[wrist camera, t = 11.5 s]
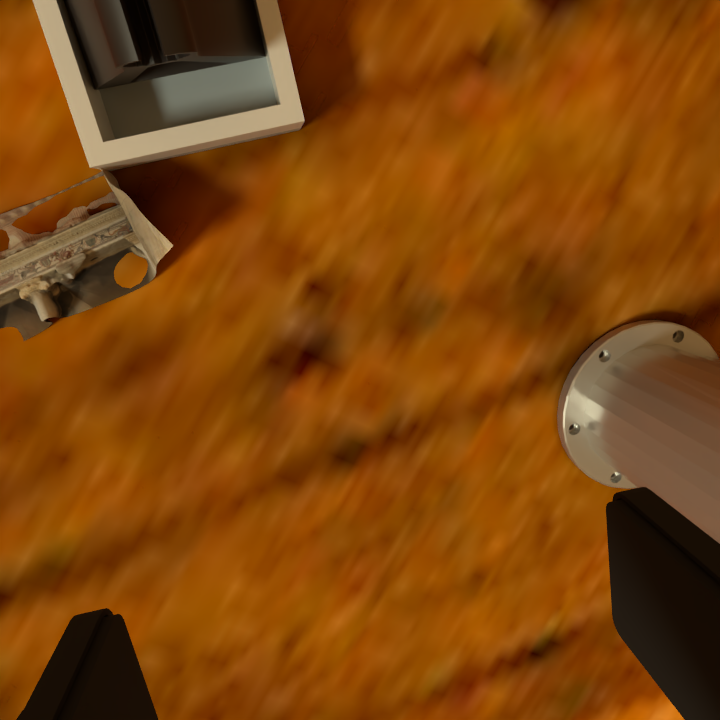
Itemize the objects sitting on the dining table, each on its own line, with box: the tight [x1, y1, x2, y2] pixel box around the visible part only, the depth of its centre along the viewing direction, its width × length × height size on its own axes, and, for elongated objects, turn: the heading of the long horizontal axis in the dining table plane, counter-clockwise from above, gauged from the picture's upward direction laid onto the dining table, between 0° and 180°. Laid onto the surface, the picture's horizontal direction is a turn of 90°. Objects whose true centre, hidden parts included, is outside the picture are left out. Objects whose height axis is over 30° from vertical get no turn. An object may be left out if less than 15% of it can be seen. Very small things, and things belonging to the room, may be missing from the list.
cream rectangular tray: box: [33, 0, 305, 171], centre depth 29 cm, size 11×14×4 cm
